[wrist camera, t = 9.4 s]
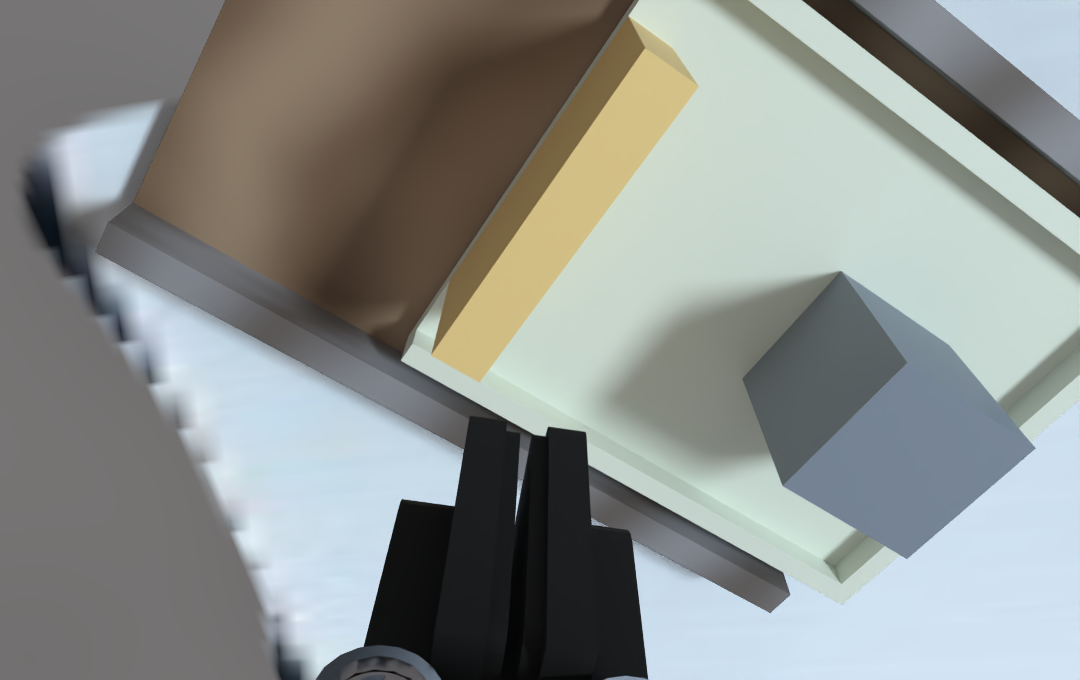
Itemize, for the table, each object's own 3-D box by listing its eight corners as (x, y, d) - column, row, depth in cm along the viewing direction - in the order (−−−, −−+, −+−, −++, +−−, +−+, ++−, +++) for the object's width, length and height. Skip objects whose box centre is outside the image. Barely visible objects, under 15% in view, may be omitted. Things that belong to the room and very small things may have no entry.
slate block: (949, 345, 30) (1035, 448, 24) (847, 443, 32) (907, 558, 26) (841, 270, 28) (907, 362, 23) (742, 378, 30) (782, 486, 25)
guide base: (1146, 191, 29) (1202, 222, 26) (755, 563, 37) (770, 613, 34) (420, -405, 22) (403, -439, 19) (133, 220, 30) (95, 251, 27)
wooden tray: (1155, 280, 29) (1282, 367, 24) (829, 572, 36) (875, 689, 31) (690, -84, 24) (727, -71, 19) (408, 335, 30) (380, 428, 25)
